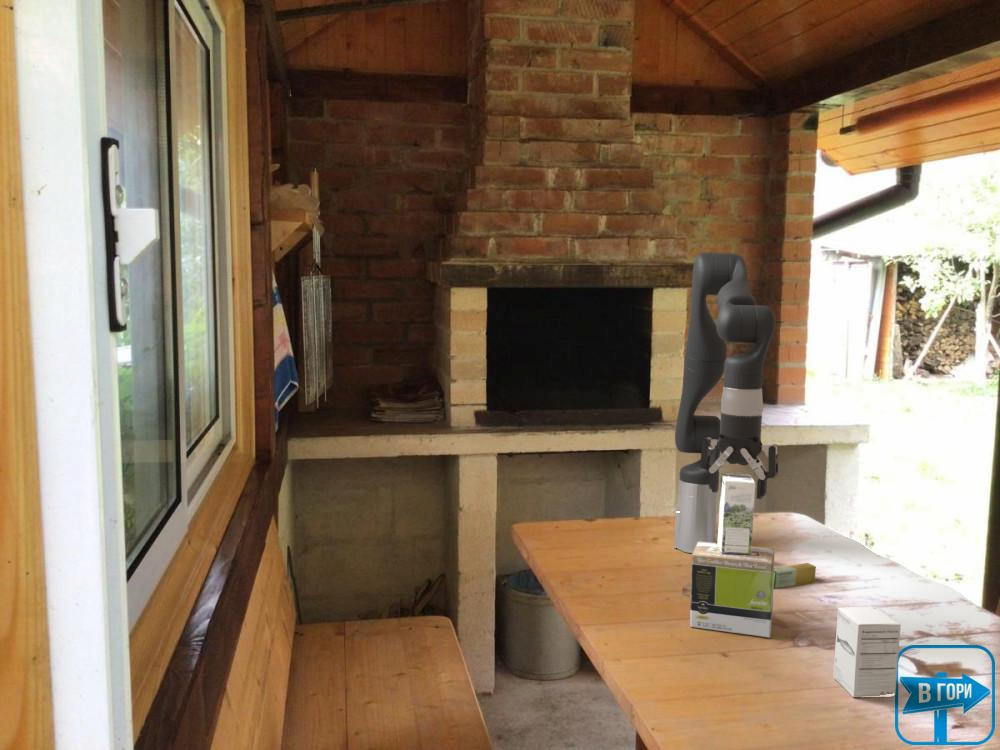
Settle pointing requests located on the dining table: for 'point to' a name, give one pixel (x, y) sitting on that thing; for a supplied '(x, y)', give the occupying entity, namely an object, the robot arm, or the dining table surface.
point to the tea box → (732, 590)
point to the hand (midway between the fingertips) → (737, 494)
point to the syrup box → (736, 513)
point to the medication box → (794, 575)
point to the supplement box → (866, 651)
